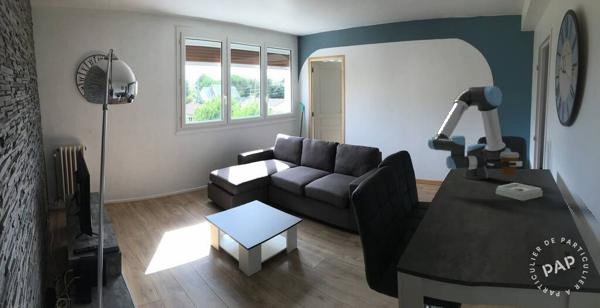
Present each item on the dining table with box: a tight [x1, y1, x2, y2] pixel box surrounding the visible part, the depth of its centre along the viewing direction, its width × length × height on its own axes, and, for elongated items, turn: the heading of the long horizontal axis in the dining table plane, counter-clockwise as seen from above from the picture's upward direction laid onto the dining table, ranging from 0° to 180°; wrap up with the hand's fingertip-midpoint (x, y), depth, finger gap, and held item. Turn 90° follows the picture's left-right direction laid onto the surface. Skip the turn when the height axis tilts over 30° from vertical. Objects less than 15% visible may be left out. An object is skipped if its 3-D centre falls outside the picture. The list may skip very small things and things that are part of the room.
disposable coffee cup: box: [500, 151, 520, 176], centre depth 198 cm, size 10×10×12 cm
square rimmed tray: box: [495, 182, 544, 202], centre depth 196 cm, size 16×16×4 cm
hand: (518, 162), depth 197 cm, fingers closed on disposable coffee cup, 8 cm apart
